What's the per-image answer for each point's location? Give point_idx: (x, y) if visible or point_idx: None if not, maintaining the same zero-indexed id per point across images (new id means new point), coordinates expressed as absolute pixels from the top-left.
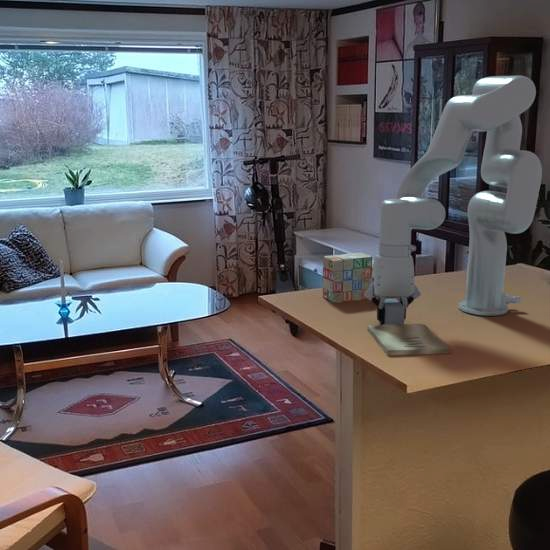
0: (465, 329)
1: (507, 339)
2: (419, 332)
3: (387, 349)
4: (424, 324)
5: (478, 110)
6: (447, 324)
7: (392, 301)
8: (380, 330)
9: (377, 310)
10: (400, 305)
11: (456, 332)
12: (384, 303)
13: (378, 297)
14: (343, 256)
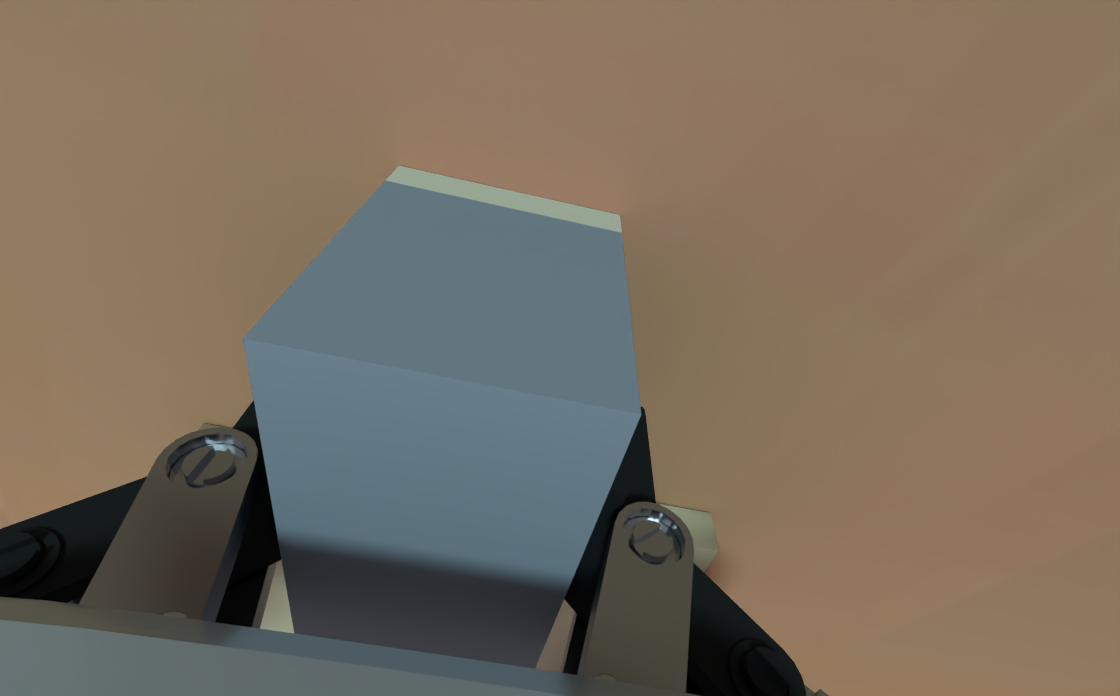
0: (983, 598)
1: None
2: (551, 646)
3: None
4: (706, 564)
5: None
6: (991, 499)
7: (469, 533)
8: (277, 564)
9: (250, 421)
10: (501, 661)
11: (862, 614)
12: (292, 567)
13: (121, 600)
14: None
